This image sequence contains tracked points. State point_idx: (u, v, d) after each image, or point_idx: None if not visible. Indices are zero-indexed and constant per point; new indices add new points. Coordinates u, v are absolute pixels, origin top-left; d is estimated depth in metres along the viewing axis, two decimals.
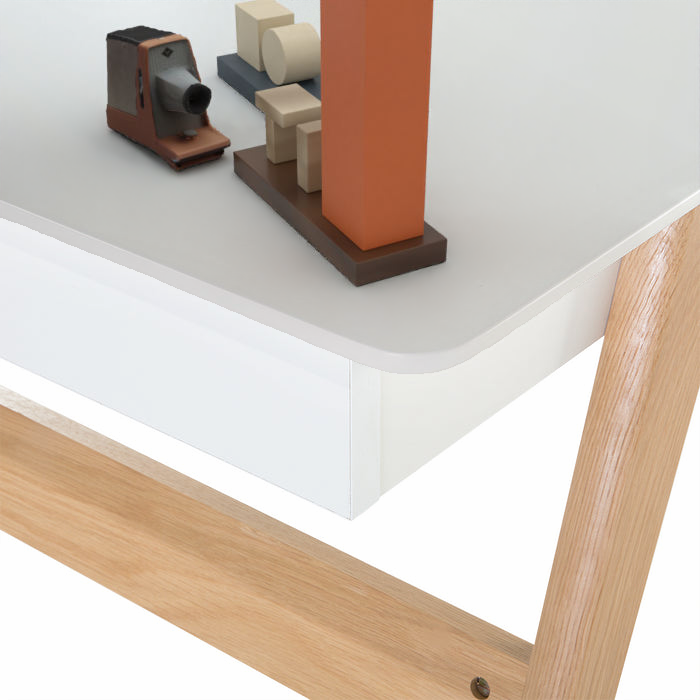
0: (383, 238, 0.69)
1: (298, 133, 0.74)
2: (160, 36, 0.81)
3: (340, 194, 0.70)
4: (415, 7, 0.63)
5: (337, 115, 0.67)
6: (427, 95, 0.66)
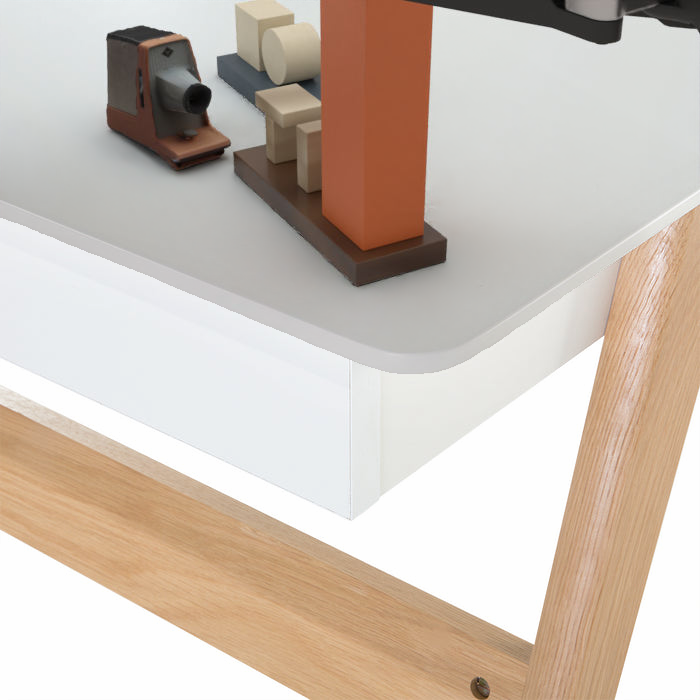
0: (383, 238, 0.69)
1: (298, 133, 0.74)
2: (160, 36, 0.81)
3: (340, 194, 0.70)
4: (415, 7, 0.63)
5: (337, 115, 0.67)
6: (427, 95, 0.66)
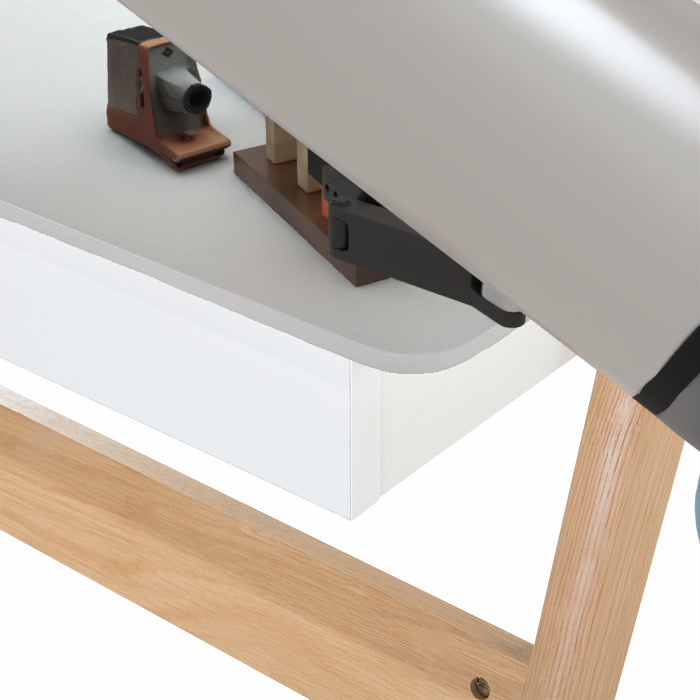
0: None
1: None
2: (160, 36, 0.81)
3: None
4: None
5: None
6: None
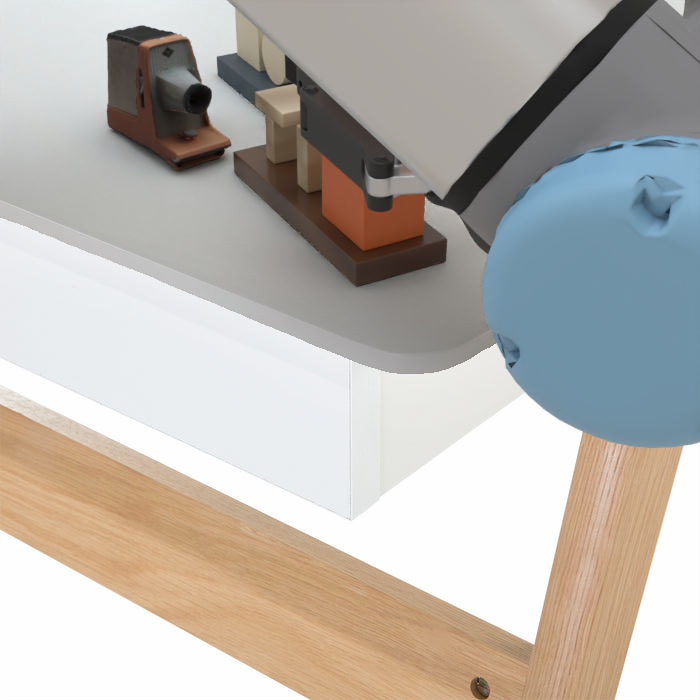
0: (383, 238, 0.69)
1: (298, 133, 0.74)
2: (161, 36, 0.81)
3: (340, 194, 0.70)
4: None
5: None
6: None
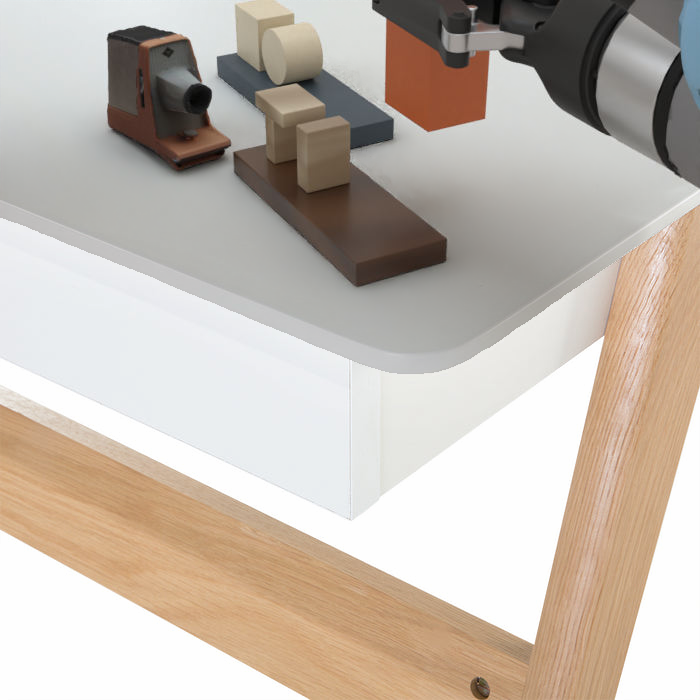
0: (447, 120, 0.71)
1: (298, 133, 0.74)
2: (161, 36, 0.81)
3: (404, 78, 0.72)
4: None
5: None
6: None
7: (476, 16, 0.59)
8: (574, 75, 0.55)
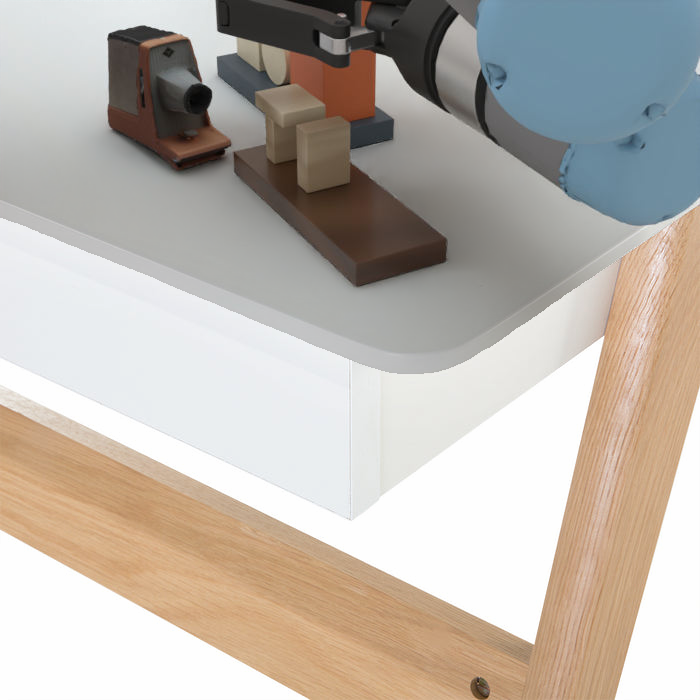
0: None
1: (298, 133, 0.74)
2: (161, 36, 0.81)
3: (304, 81, 0.84)
4: None
5: None
6: None
7: None
8: (419, 64, 0.66)
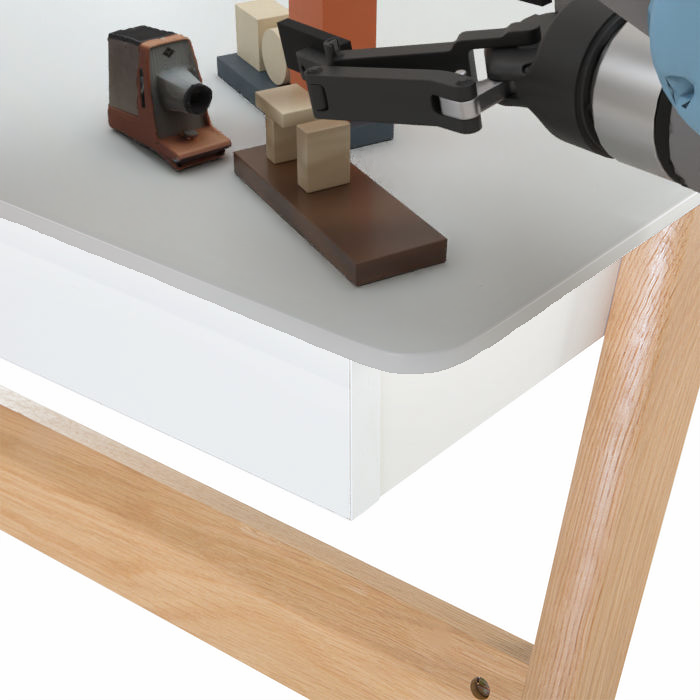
0: None
1: (298, 133, 0.74)
2: (161, 36, 0.81)
3: (304, 81, 0.84)
4: None
5: (301, 12, 0.81)
6: None
7: None
8: (569, 111, 0.56)
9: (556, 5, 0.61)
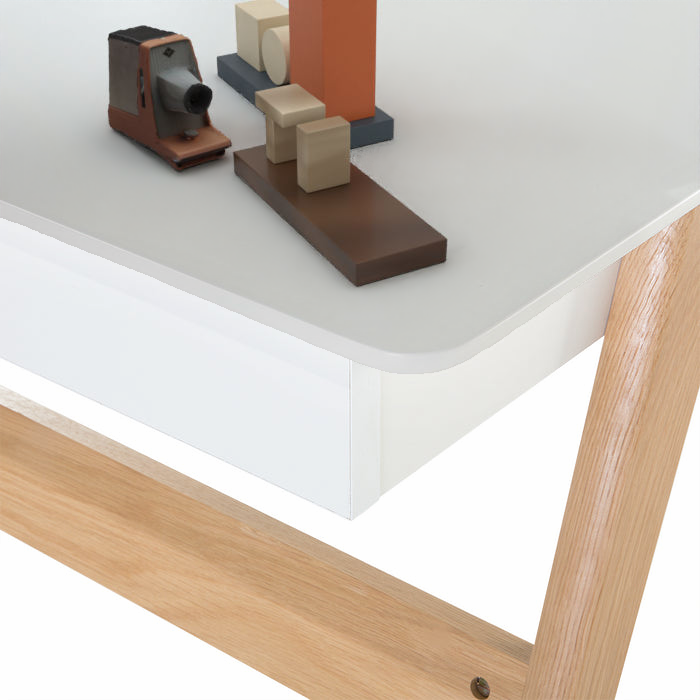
0: None
1: (298, 133, 0.74)
2: (161, 36, 0.81)
3: (304, 81, 0.84)
4: None
5: (301, 12, 0.81)
6: None
7: None
8: None
9: None
